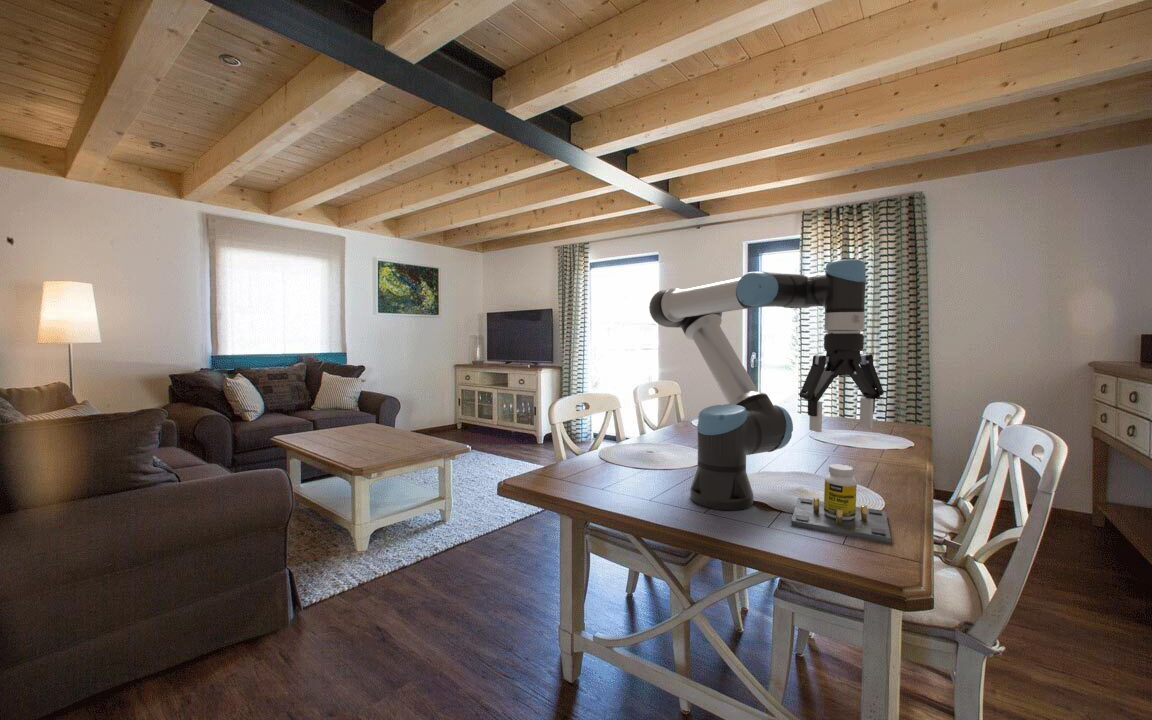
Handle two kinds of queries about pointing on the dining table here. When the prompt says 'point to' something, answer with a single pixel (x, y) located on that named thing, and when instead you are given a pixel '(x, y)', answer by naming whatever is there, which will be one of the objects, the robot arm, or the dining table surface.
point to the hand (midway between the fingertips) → (841, 429)
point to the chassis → (842, 521)
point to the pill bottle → (840, 492)
